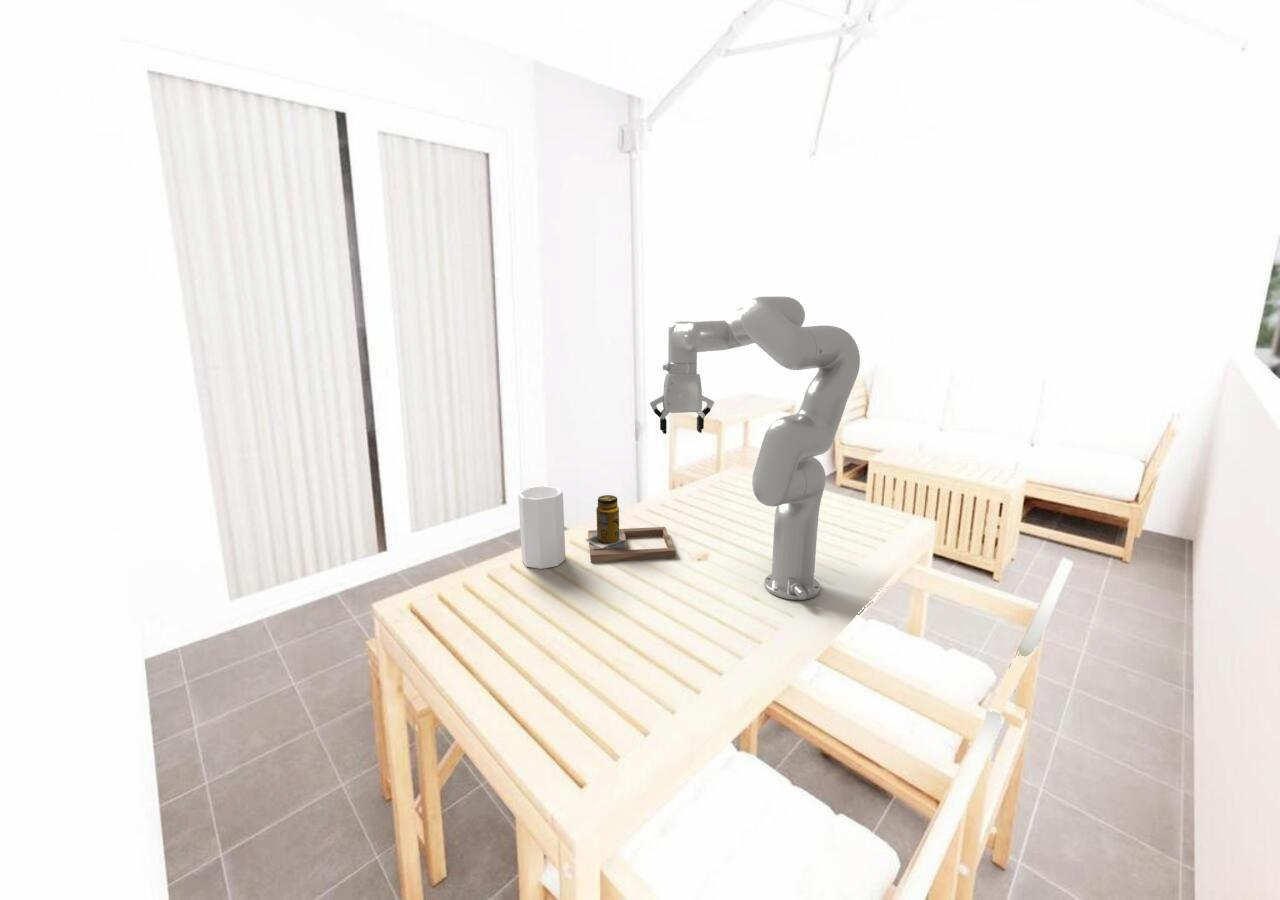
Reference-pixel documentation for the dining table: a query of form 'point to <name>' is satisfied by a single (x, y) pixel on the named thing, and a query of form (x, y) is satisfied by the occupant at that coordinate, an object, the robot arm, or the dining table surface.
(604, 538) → the condiment
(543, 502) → the cup
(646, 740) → the dining table surface
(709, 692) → the dining table surface
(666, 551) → the pocket board
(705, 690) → the dining table surface
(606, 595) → the dining table surface
